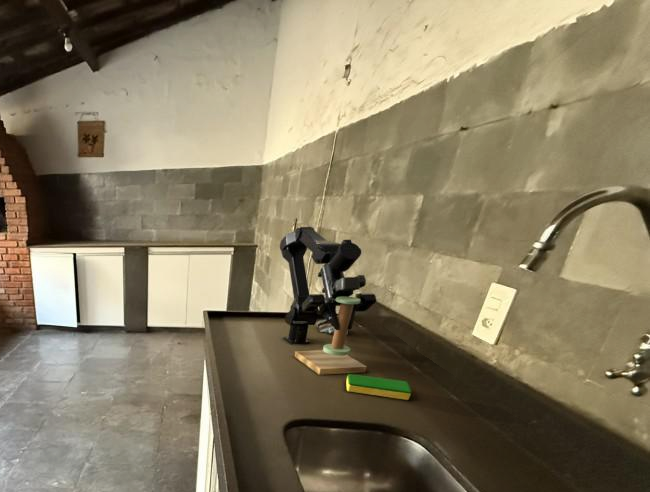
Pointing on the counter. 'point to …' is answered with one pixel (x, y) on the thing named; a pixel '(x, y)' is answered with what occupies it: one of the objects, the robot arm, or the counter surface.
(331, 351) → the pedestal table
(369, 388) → the dish sponge
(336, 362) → the birch platform
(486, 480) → the counter surface
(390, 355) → the counter surface
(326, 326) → the grey streaked wedge
